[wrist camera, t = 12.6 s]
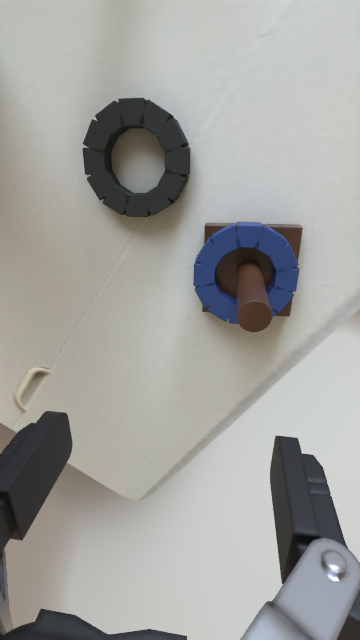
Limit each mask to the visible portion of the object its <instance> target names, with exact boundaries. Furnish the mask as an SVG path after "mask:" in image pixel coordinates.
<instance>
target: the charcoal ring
mask: <svg viewBox="0 0 360 640" xmlns="http://www.w3.org/2000/svg"><path fill="white" fill-rule="evenodd" d="M95 117H96V119H97V120H98V121H96V120H93V119H92V121H91V124H90V126H89V129H88V132H87V134H86V137H85V140H84V142H83V144H84V145H86V146H87V147H89V148H83V158H84V167H85V174H86V175H91V176H90V177H88V178H87V180H88V182H89V183H90V185H91V187H92V188H93V190H94V192H95V193H96V195H97V197H98V198H99V200H102V199H104V201H103V204H105V205H107V206H108V207H110V208H111V209H113V210H115V211H116V212H118V213H120V214H121V215H124V214H126V216H132V217H148V216H150V215H152V216H153V215H154V214H156V213H158V212H159V211H161V210H163V209H164V208H166V207H168V206H169V205H171V204H173V203H174V201H175V200H177V199H178V197H179V195H180V193H181V192H182V190H183V188H184V186H185V184H186V182H187V180H188V178H187V177H186V176H184V175H188V174H190V149H189V148H187V147H185V146H187V145H188V144H189V143H188V141H187V139H186V137H185V135H184V133H183V131H182V129H181V127H180V125H179V123H178V121H177V120H176V119H174V117H173V116H172V115H171V114H170V113H168V112H167V111H165V110H164V109H162V108H161V107H159V106H158V105H156V104H155V103H153V102H152V101H150V100H145V99H144V98H125V99H119V103H118V102H116V101H113V102H112V103H111V104H109V105H108V106H107V107H105V108H104V109H103V110H102V111H100V112H99V113H98V114H96V115H95ZM130 128H146V129H147V130H149V131H150V132H152V133H153V134H155V135H156V136H157V138H158V140H159V142H160V144H161V146H162V148H163V150H164V151H165V172H164V174H163V176H162V178H161V180H160V182H159V184H158V186H156V187H155V188H153V189H152V190H150V191H149V192H147V193H133V192H131V191H130V190H128V189H127V188H125V187H123V186H122V185H120V183H119V181H118V179H117V178H116V176H115V174H114V173H113V171H112V163H111V152H112V149H113V147H114V144H115V142H116V140H117V137H119V136H120V135H121V134H123V133H124V132H126V131H127V130H128V129H130Z"/></svg>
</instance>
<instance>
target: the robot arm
mask: <svg viewBox="0 0 360 640" xmlns="http://www.w3.org/2000/svg"><path fill="white" fill-rule="evenodd" d="M71 451H72V438H71V432H70V426H69V420H68V415H67V414H66V413H62V412H53V411H46V412H45V413H44V414H43V415H42V416H41V417H40V419H39V420H38V421H37V423H30V424H29V425H27V426H26V427H25V428H23V429H22V430H20V431H19V432H18V433H17V434H16V435H15V437H14V438H13V439H12V440H11V442H10V444H9V445H7V446H6V448H5V449H4V450H3V452H2V454H0V640H187V636H183V635H178V634H172V633H167V632H162V631H157V630H151V629H147V630H140V631H133V632H126V633H119V634H111V635H110V634H106V633H104V632H102V631H101V630H99V629H97V628H96V627H94V626H92V625H91V624H89V623H87V622H86V621H84V620H82V619H81V618H79V617H77V616H75V615H72V614H66V613H61V612H56V611H50V610H45V609H41V610H40V612H39V614H38V617H37V619H36V621H35V622H32V623H28V624H25V625H22V626H20V627H17V628H15V629H13V625H12V620H11V616H10V610H9V598H8V584H7V570H6V557H5V550H4V548H5V546H6V544H7V542H8V541H9V539H17V540H23V538H24V537H25V535H26V533H27V531H28V529H29V528H30V526H31V524H32V523H33V521H34V519H35V517H36V516H37V514H38V512H39V510H40V509H41V507H42V505H43V503H44V501H45V500H46V498H47V496H48V494H49V493H50V491H51V489H52V487H53V486H54V484H55V482H56V480H57V478H58V477H59V475H60V473H61V472H62V470H63V468H64V466H65V465H66V463H67V461H68V459H69V457H70V455H71ZM270 469H271V470H270V483H271V492H272V501H273V510H274V519H275V528H276V536H277V544H278V553H279V562H280V570H281V579H282V584H283V586H282V587H281V589H280V590H279V592H278V593H277V595H276V597H275V598H274V599H273V600H272V601H271V602H270V601H268V602H266V603H265V604H264V606H263V607H262V608H261V610H260V611H259V612H258V614H257V615H256V617H255V618H254V620H253V621H252V623H251V624H250V626H249V627H248V629H247V630H246V632H245V633H244V635H243V637H242V638H241V639H240V640H360V563H359V562H358V560H357V558H356V557H355V556H354V555H353V553H352V552H351V551H349V549H348V547H347V545H346V543H345V540H344V537H343V534H342V531H341V528H340V524H339V520H338V517H337V514H336V511H335V507H334V504H333V500H332V497H331V496H330V490H329V487H328V484H327V480H326V477H325V474H324V470H323V467H322V466H321V465H320V463H319V462H318V461H317V460H316V458H315V457H314V456H313V455H309V454H302V453H301V449H300V445H299V441H298V439H297V438H293V437H284V436H276V437H275V442H274V448H273V455H272V462H271V468H270Z"/></svg>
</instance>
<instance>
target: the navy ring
mask: <svg viewBox="0 0 360 640" xmlns="http://www.w3.org/2000/svg"><path fill="white" fill-rule="evenodd" d="M239 247H240V248H256V249H258V250H259V251H261V252H263V253H264V254H266V255H267V256H269V257H270V259H271V261H272V263H273V265H274V272H273V279H272V282H271V283H270V285H269V286H268V287H267V288H266V292H267V296H268V300H269V304H270V308H271V312H272V317H273V316H275V315H276V312H275V310H276V311H277V312H279V313H280V312H281V310H282V309H283V308H284V307H285V306H286V304H287V303H288V302H289V301H290V299H291V298H292V297H293V296H294V294H293V292H292V291H296V286H297V280H298V274H299V268H298V267H297V266H298V265H299V264H298V262H297V259H296V257H295V255H294V253H293V250H292V248H291V246H290V244H289V242H288V241H287V240H286V239H285V238H284V236H283V235H281V234H280V233H278V232H277V231H275V230H273V229H272V228H270V227H269V226H267V225H266V224H264V225H263V226H262V225H261V223H260V222H237V225H236V228H235V226H234V224H233V223H231V224H230V225H228V226H226V227H224V228H222V229H220V230H218V231H216V232H215V233H213V234H212V236H211V237H209V238H208V239H207V241H206V243H205V244H204V246H203V247H202V249H201V251H200V252H199V254H198V255H197V258H196V261H195V264H194V286H196V287H195V291H196V293H197V295H198V297H199V298H200V300H201V302H202V304H203V305H204V307H205V308H206V307H208V311H209V312H211V313H212V314H214V315H215V316H217V317H219V318H220V319H222V320H224V321H225V322H226V321H227V320H228V318H229V317H230V321H229V322H230V323H236V324H239V323H238V321H237V298H233V297H232V296H230V295H229V294H227V293H225V292H224V291H222V289H221V287H220V285H219V284H218V282H217V280H216V266H217V265H218V263H219V262H220V260H221V259H222V257H223V256H224V255H225V254H227V253H229V252H231V251H233V250H235V249H237V248H239Z"/></svg>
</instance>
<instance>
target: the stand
mask: <svg viewBox="0 0 360 640" xmlns="http://www.w3.org/2000/svg"><path fill="white" fill-rule="evenodd" d="M230 224H231V223H206V225H205V241H204V244H205V243H206V241H207V239H208V238H209V237H211V236H212V234H213V233H215V232H216V231H218V230H220V229H222V228H224V227H226V226H228V225H230ZM233 224H234V226H235V228H236V225H237V223H233ZM261 225H262V226H263V225H264V224H261ZM266 225H267V226H269V227H270V228H272V229H273V230H275V231H277V232H278V233H280V234H281V235H283V236H284V238H285V239H286V240H287V241H288V242H289V244H290V246H291V248H292V250H293V253H294V255H295V257H296V259H297V262H298V256H299V249H300V242H301V235H302V229H303V228H302V226H300V225H287V224H266ZM273 272H274V265H273V263H272V261H271V259H270V257H269V256H267V255H266V254H264V253H263V252H261V251H259V250H258V249H256V248H240V247H239V248H237V249H235V250H233V251H231V252H229V253H227V254H225V255H224V256H223V257H222V259H221V260H220V262H219V263H218V265H217V266H216V280H217V282H218V284H219V285H220V287H221V289H222V291H224V292H225V293H227V294H229V295H230V296H232V297H233V298H237V321H238V323H239V325H240V326H241V327H242V328H243V329H245V330H247V331H250V332H258V331H261V330H263V329H265V328H266V327H267V326H268V325H269V324H270V322H271V320H272V312H271V308H270V304H269V300H268V296H267V292H266V288H267V287H268V286H269V285H270V283H271V282H272V279H273ZM292 292H293V291H292ZM291 304H292V298H291V299H290V301H289V302H288V303H287V304H286V306H285V307H284V308H283V309H282V310H281V312H280V313H279V312H277V311H276V310H275V312H276V315H275V316H290V310H291ZM202 311H203V312H209V311H208V307H206V308H205V307H204V305H203V310H202Z"/></svg>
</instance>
